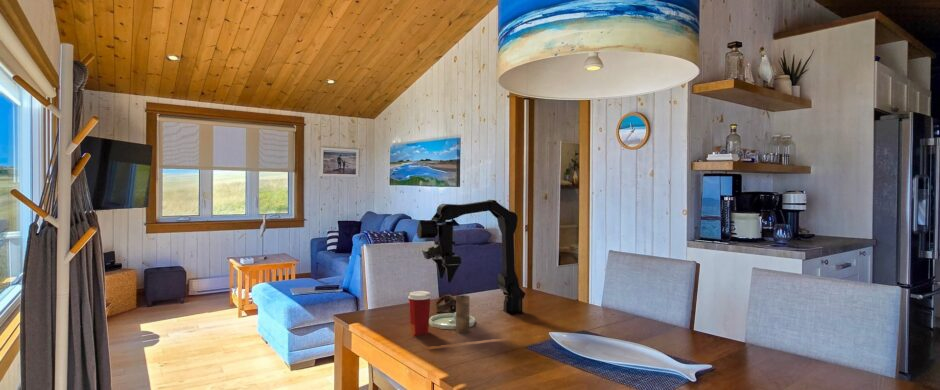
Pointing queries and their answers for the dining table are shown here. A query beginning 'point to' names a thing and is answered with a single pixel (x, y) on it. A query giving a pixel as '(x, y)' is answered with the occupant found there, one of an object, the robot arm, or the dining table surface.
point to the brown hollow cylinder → (446, 303)
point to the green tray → (447, 321)
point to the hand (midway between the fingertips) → (445, 280)
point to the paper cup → (419, 312)
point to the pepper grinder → (462, 314)
